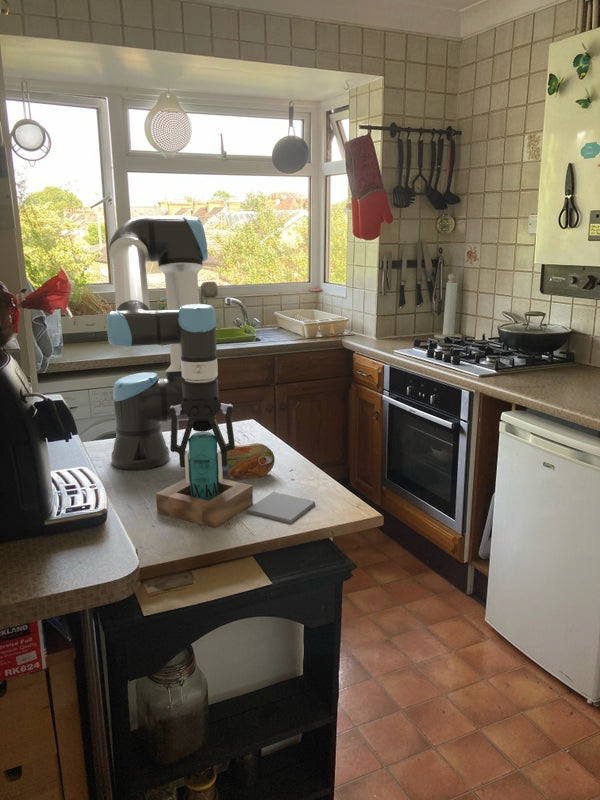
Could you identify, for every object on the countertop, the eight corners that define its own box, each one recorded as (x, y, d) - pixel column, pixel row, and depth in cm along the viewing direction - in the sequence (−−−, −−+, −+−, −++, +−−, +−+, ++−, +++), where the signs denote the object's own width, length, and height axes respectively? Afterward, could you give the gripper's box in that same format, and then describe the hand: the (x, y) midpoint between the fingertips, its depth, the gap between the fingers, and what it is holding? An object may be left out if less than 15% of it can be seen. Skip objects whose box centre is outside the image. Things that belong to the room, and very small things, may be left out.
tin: (215, 481, 157) (214, 449, 154) (214, 477, 159) (212, 445, 157) (275, 475, 160) (274, 444, 158) (272, 471, 163) (271, 440, 161)
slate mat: (247, 512, 139) (247, 509, 139) (273, 494, 149) (273, 491, 148) (290, 523, 134) (290, 520, 134) (314, 504, 143) (314, 501, 143)
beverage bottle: (188, 500, 144) (184, 416, 138) (217, 496, 146) (214, 413, 140) (192, 512, 138) (188, 425, 132) (222, 508, 140) (219, 422, 134)
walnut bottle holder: (157, 512, 140) (155, 493, 138) (196, 490, 151) (195, 472, 150) (216, 528, 132) (215, 508, 131) (252, 503, 144) (252, 485, 143)
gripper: (151, 384, 129) (157, 488, 136) (246, 381, 131) (248, 484, 137) (155, 375, 137) (161, 475, 143) (245, 373, 139) (247, 471, 145)
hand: (204, 479), depth 140 cm, fingers closed on beverage bottle, 6 cm apart
